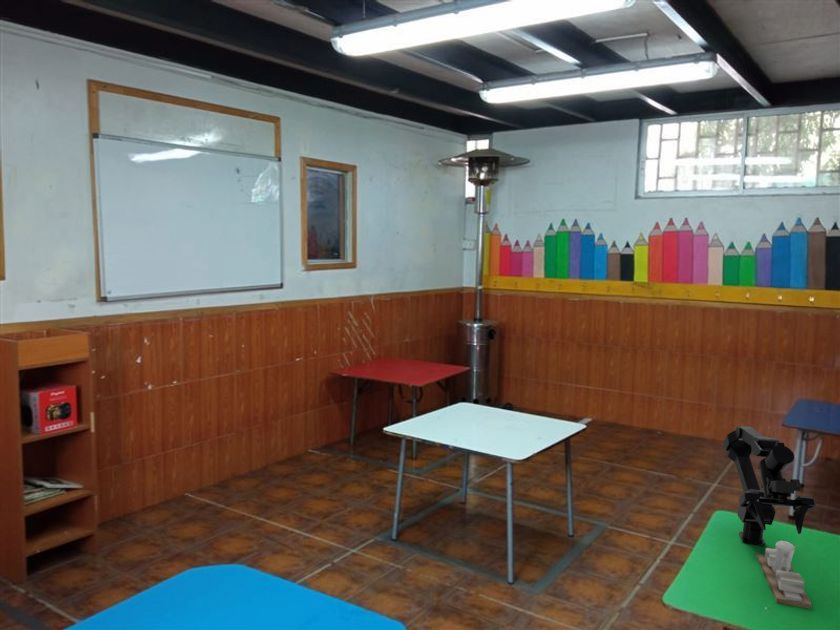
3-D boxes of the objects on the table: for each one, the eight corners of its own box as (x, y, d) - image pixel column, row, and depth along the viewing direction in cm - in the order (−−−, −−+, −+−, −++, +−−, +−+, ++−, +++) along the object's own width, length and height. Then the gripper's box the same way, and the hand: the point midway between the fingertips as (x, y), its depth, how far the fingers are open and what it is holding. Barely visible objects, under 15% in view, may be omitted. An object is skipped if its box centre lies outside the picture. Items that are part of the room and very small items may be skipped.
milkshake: (788, 581, 181) (793, 546, 179) (769, 572, 185) (773, 538, 184) (797, 576, 183) (801, 542, 182) (777, 567, 188) (782, 534, 186)
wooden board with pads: (756, 557, 197) (758, 541, 196) (786, 562, 195) (789, 546, 194) (776, 602, 174) (778, 584, 173) (811, 608, 172) (813, 590, 171)
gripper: (747, 463, 190) (755, 518, 181) (817, 470, 188) (830, 525, 179) (735, 479, 199) (743, 531, 190) (802, 485, 197) (813, 538, 188)
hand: (782, 531), depth 186 cm, fingers open, 9 cm apart
